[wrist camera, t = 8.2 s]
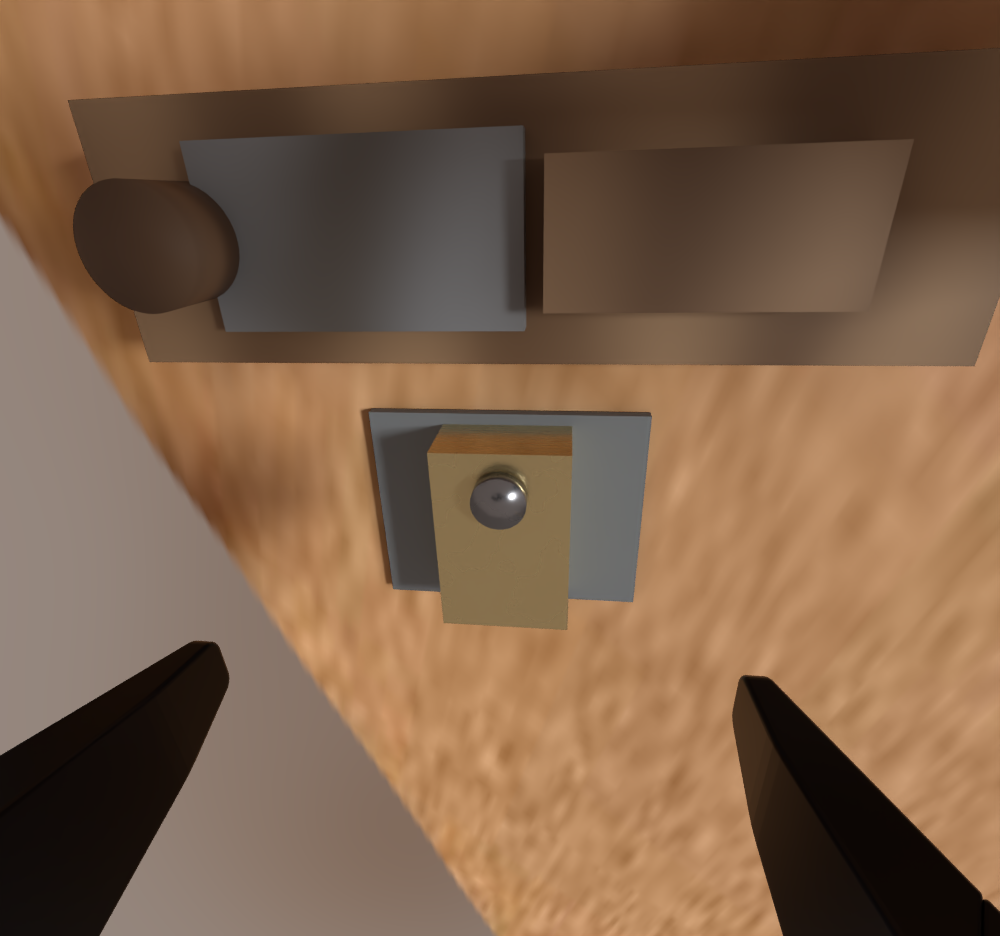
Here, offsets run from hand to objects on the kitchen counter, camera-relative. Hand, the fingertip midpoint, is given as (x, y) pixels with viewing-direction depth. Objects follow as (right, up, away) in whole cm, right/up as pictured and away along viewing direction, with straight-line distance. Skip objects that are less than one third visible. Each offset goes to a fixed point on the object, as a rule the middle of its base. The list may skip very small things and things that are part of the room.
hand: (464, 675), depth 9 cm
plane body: (+2, +11, +8) cm, 13 cm away
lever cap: (+1, +2, +12) cm, 12 cm away
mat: (+1, +2, +12) cm, 12 cm away
